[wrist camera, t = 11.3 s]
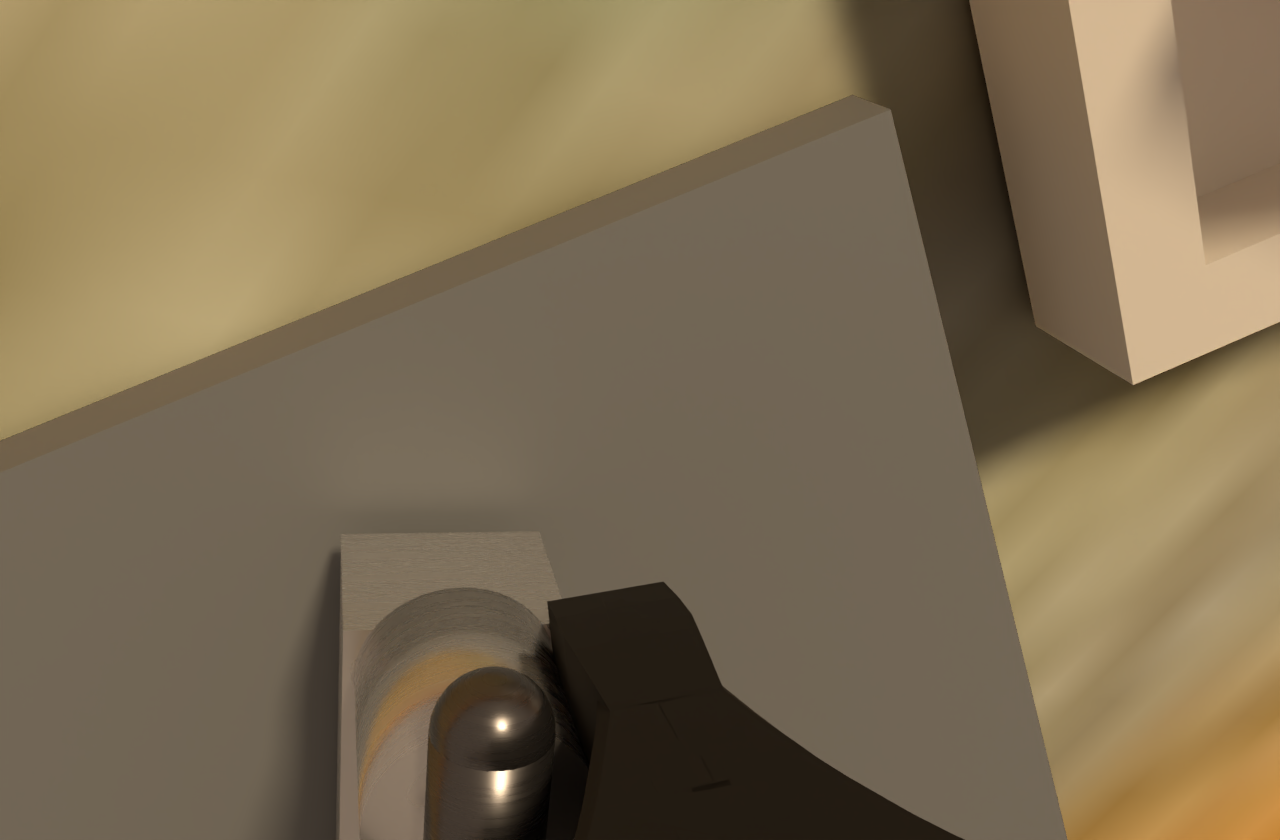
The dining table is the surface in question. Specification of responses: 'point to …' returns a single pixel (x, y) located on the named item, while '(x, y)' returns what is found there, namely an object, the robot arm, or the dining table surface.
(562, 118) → the dining table surface
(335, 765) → the crank base
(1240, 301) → the tray
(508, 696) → the crank
